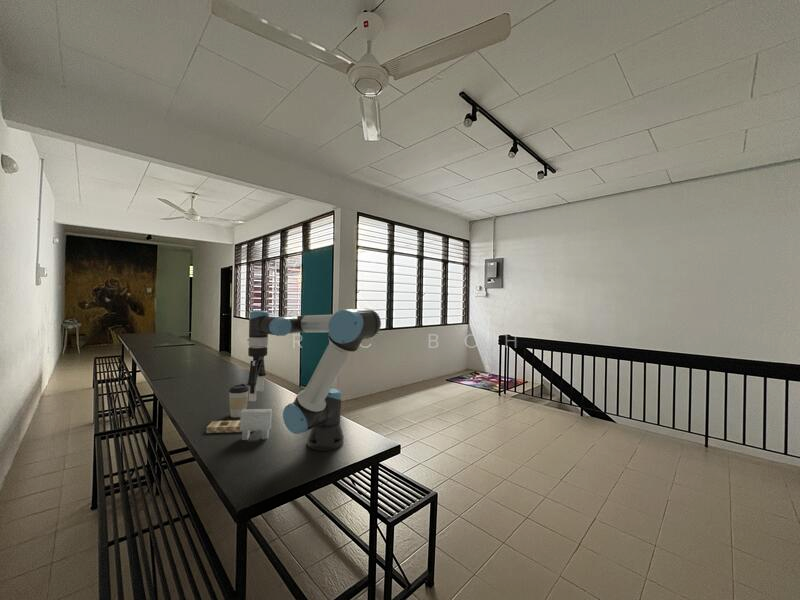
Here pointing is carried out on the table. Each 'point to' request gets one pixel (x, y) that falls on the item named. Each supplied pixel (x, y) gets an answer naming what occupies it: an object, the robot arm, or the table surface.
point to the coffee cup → (238, 399)
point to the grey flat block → (255, 422)
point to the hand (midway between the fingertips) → (256, 395)
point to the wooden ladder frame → (224, 427)
